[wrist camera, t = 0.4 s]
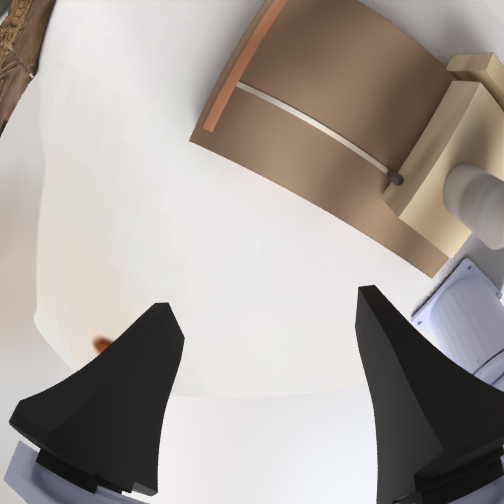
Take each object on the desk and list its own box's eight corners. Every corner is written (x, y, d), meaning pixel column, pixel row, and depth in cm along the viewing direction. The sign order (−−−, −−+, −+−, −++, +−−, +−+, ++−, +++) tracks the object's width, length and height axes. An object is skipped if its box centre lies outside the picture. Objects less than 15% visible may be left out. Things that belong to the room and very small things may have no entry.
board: (499, 148, 13) (516, 155, 12) (422, 264, 19) (432, 279, 17) (287, -20, 10) (289, -33, 8) (198, 136, 16) (188, 141, 14)
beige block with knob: (495, 104, 11) (575, 129, 4) (422, 226, 17) (480, 298, 10) (446, 49, 10) (531, 43, 3) (365, 184, 16) (421, 249, 9)
